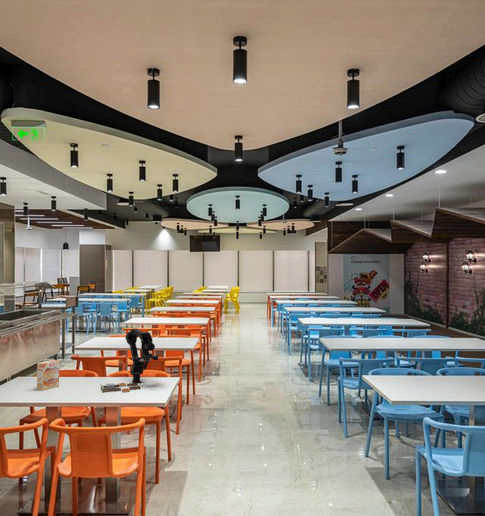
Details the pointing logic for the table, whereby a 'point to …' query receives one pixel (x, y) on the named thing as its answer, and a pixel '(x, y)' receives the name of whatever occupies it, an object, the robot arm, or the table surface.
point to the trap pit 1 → (122, 384)
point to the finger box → (120, 388)
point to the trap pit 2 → (126, 390)
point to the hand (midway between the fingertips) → (145, 369)
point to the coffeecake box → (47, 374)
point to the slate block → (110, 386)
